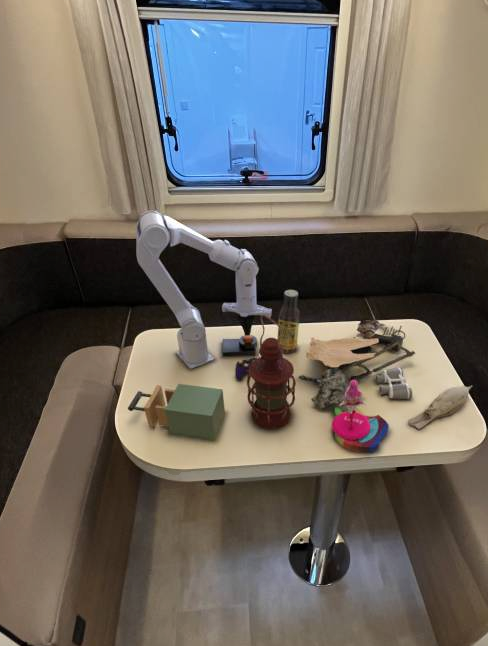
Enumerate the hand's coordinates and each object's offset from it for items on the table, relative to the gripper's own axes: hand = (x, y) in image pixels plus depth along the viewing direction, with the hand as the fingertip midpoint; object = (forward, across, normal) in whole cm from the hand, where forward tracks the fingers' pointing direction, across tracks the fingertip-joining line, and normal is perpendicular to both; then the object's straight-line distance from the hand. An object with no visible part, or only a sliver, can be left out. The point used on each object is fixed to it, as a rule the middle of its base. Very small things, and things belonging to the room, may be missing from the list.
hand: (247, 333), depth 134 cm
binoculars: (+6, +45, -8) cm, 46 cm away
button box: (+6, -3, -1) cm, 7 cm away
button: (+3, 0, 0) cm, 3 cm away
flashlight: (+6, +39, +16) cm, 42 cm away
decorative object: (+5, +43, -30) cm, 53 cm away
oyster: (0, +39, +16) cm, 42 cm away
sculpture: (+1, +59, -15) cm, 61 cm away
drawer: (+5, -13, -34) cm, 37 cm away
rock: (+5, +23, -17) cm, 29 cm away
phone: (+5, +26, -3) cm, 27 cm away
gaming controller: (+6, +4, -11) cm, 13 cm away
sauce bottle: (+6, +12, +3) cm, 14 cm away
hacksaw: (+4, +43, -2) cm, 43 cm away
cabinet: (+6, -4, -34) cm, 35 cm away
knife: (+6, +27, -10) cm, 30 cm away
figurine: (+4, +34, -28) cm, 45 cm away
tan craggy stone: (+1, +30, -2) cm, 30 cm away
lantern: (+6, +13, -27) cm, 31 cm away
